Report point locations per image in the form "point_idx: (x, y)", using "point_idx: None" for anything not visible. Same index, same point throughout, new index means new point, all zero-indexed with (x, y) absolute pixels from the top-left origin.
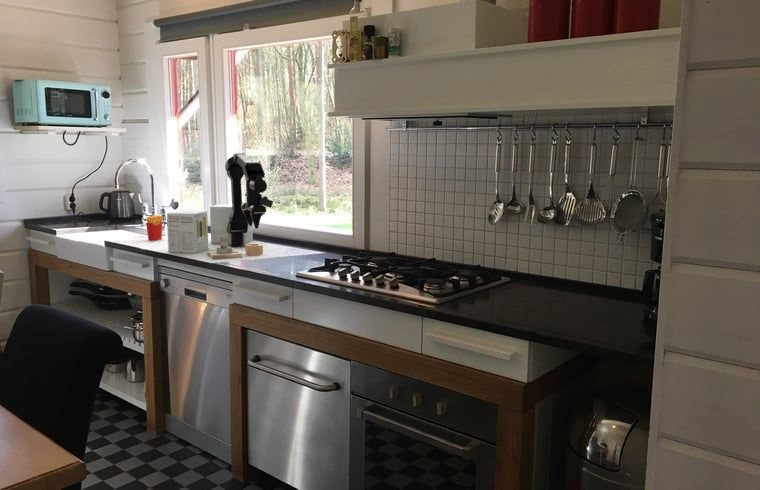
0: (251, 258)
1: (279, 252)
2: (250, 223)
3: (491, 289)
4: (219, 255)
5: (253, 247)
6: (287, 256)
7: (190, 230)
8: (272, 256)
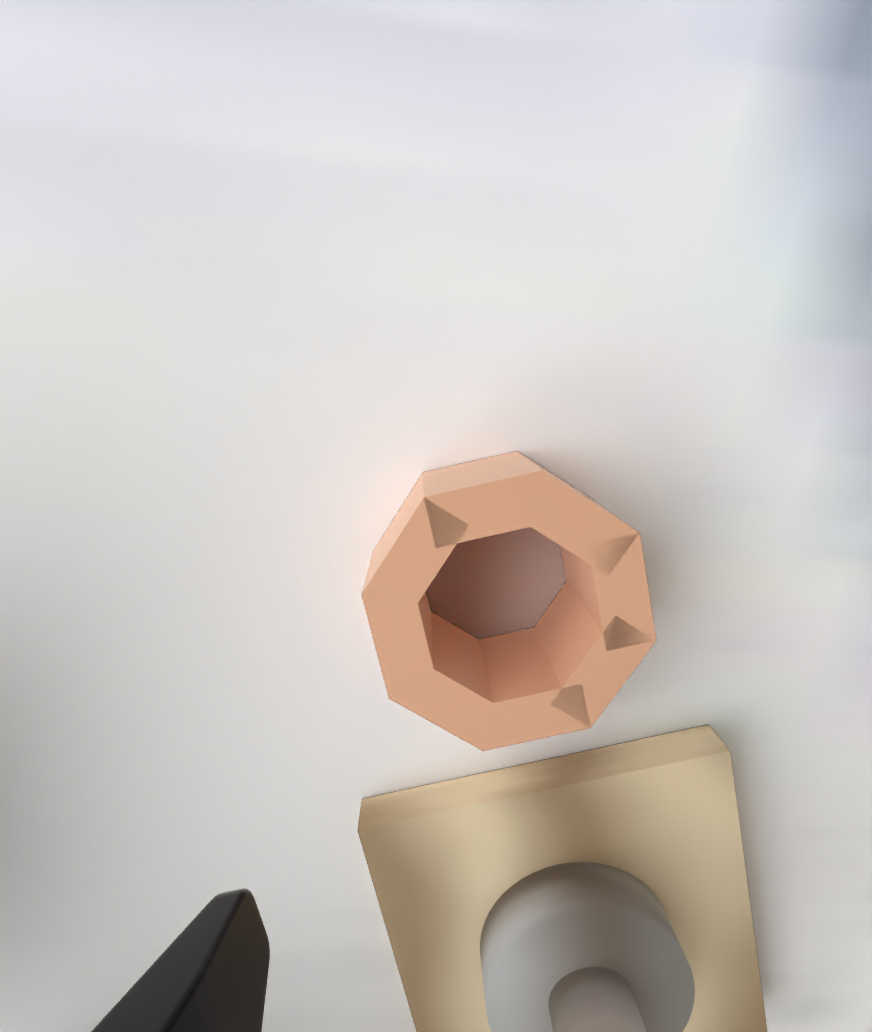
0: (830, 616)
1: (431, 181)
2: (242, 1013)
3: None
4: (760, 983)
5: (646, 623)
6: (839, 88)
7: None
8: (766, 328)
